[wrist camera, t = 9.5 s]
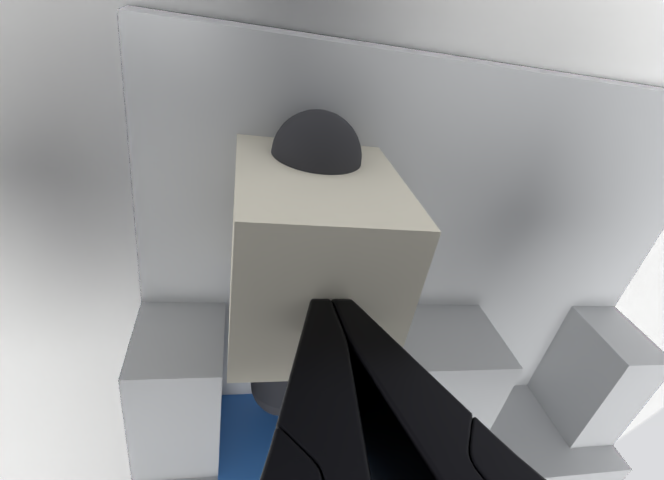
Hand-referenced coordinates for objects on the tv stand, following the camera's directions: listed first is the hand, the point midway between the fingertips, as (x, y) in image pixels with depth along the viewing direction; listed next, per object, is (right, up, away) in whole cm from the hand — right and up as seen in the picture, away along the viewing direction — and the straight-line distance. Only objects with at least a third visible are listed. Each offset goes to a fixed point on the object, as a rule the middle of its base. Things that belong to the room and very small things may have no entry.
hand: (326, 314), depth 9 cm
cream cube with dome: (-1, +1, +5) cm, 5 cm away
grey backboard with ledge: (+3, +1, +7) cm, 7 cm away
